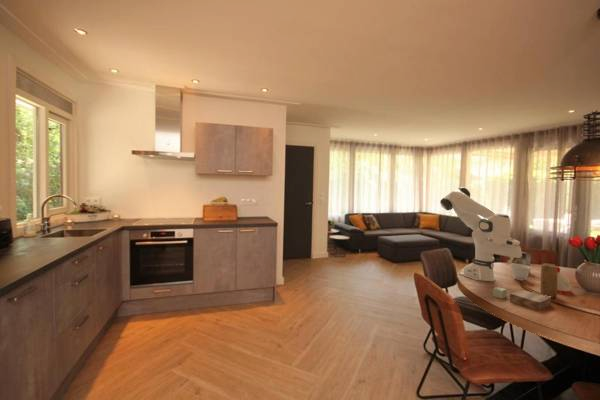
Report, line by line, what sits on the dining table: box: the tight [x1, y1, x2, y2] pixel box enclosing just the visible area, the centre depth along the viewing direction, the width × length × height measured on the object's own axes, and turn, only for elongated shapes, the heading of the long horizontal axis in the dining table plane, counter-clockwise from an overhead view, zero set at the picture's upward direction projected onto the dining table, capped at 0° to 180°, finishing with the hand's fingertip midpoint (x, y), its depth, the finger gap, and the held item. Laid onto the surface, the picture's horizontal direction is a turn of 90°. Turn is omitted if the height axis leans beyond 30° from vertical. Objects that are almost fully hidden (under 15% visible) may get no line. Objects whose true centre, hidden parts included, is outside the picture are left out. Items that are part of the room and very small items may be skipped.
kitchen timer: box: [557, 266, 572, 294], centre depth 181 cm, size 14×14×15 cm
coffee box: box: [513, 250, 532, 274], centre depth 219 cm, size 9×6×16 cm
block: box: [540, 262, 558, 298], centre depth 170 cm, size 11×8×20 cm
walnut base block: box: [509, 289, 552, 311], centre depth 159 cm, size 14×14×5 cm
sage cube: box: [492, 286, 508, 299], centre depth 170 cm, size 5×5×5 cm
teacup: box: [509, 262, 532, 281], centre depth 203 cm, size 12×15×10 cm
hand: (500, 262), depth 169 cm, fingers open, 8 cm apart
